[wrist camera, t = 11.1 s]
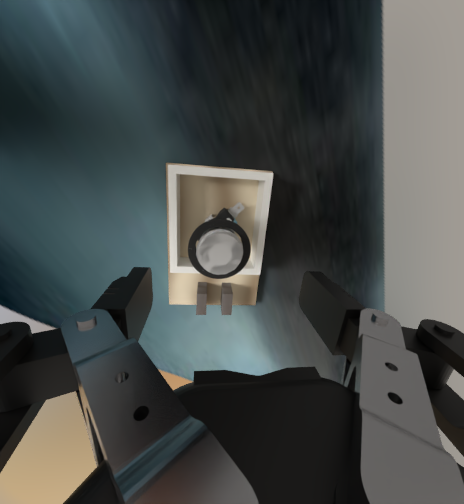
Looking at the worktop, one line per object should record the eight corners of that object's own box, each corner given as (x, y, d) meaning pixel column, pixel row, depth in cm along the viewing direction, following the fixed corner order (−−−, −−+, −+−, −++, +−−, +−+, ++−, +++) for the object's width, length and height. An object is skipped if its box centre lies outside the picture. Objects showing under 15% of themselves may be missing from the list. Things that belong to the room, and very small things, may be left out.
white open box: (173, 262, 28) (169, 272, 25) (172, 165, 24) (167, 164, 22) (255, 265, 30) (260, 274, 27) (266, 172, 26) (273, 173, 23)
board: (170, 299, 31) (165, 317, 27) (167, 163, 25) (160, 161, 21) (253, 300, 33) (259, 318, 29) (269, 171, 27) (280, 171, 23)
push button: (226, 186, 26) (237, 195, 16) (254, 220, 27) (278, 246, 18) (184, 224, 27) (172, 253, 17) (214, 254, 28) (217, 295, 19)
